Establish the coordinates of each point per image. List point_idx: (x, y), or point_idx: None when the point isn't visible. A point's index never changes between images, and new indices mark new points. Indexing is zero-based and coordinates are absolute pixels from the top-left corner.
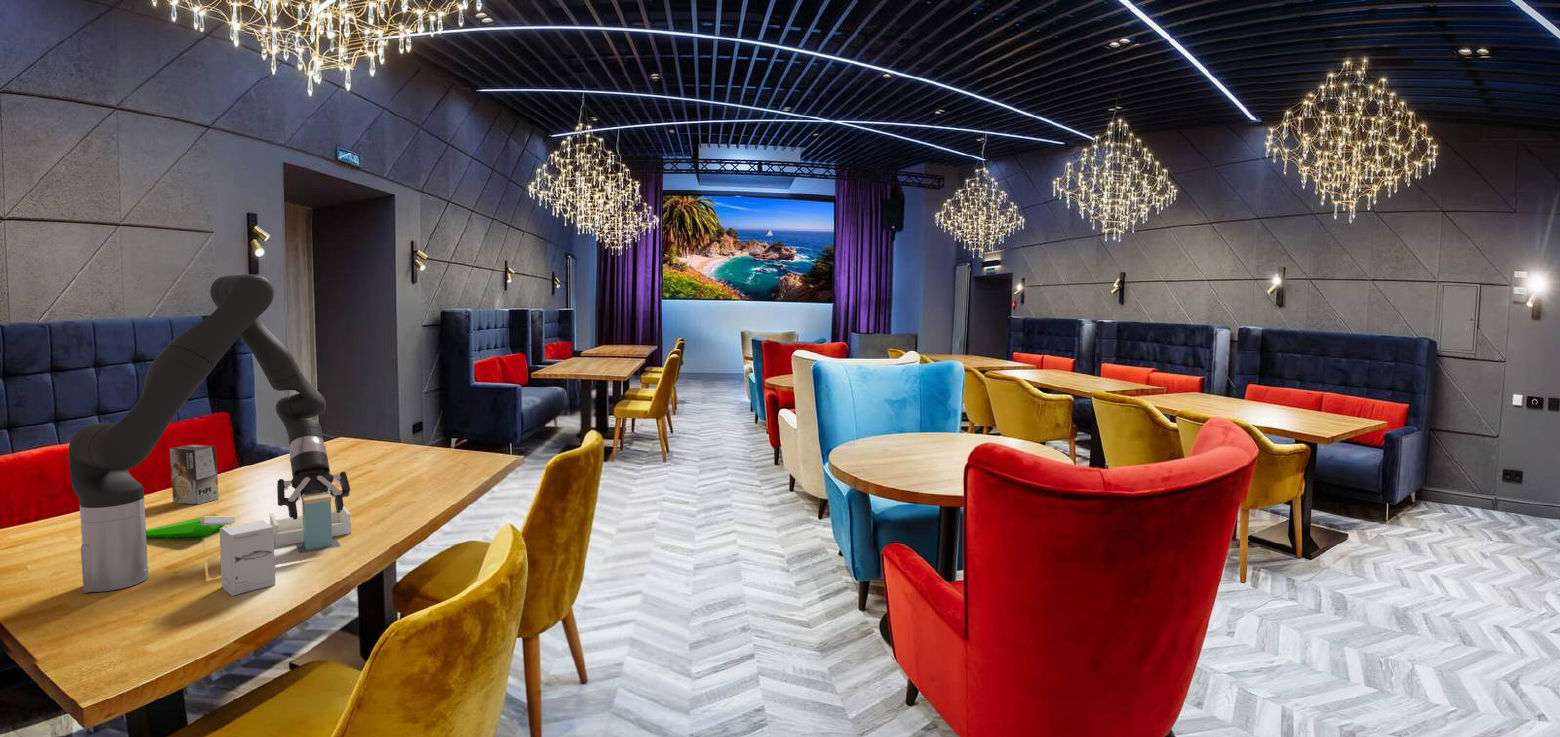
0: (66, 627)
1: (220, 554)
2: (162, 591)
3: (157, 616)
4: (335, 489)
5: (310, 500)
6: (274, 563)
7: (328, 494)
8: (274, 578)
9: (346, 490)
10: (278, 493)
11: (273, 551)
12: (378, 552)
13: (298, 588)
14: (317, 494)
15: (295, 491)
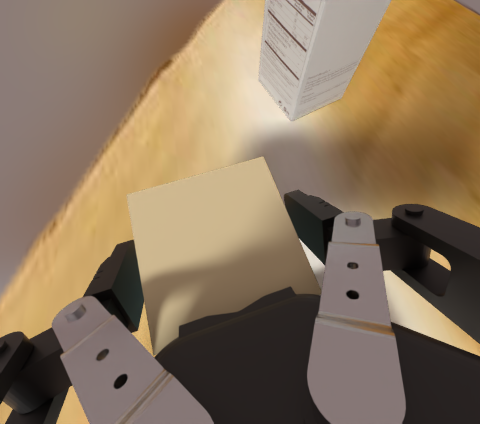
0: (465, 36)
1: (373, 33)
2: (428, 110)
3: None
4: (81, 333)
5: (235, 169)
6: (262, 40)
7: (143, 257)
8: (259, 69)
9: (12, 341)
10: (473, 226)
11: (265, 8)
12: (93, 183)
13: (220, 61)
14: (216, 285)
15: (366, 245)
